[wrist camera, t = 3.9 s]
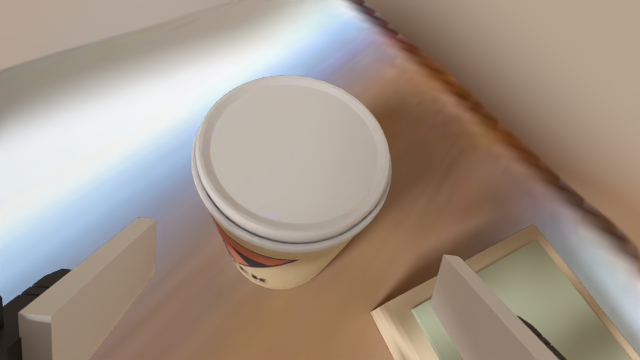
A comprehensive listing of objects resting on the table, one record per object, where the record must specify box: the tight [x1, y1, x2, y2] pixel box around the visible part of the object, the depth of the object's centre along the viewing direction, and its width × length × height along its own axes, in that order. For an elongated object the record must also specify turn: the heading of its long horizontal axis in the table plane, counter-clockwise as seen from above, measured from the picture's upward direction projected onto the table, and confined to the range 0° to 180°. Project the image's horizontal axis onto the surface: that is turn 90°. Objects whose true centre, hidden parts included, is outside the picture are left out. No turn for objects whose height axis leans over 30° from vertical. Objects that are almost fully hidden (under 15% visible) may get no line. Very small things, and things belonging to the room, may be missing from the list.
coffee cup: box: [191, 75, 392, 289], centre depth 21 cm, size 9×9×12 cm
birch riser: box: [370, 224, 640, 360], centre depth 22 cm, size 13×13×4 cm
